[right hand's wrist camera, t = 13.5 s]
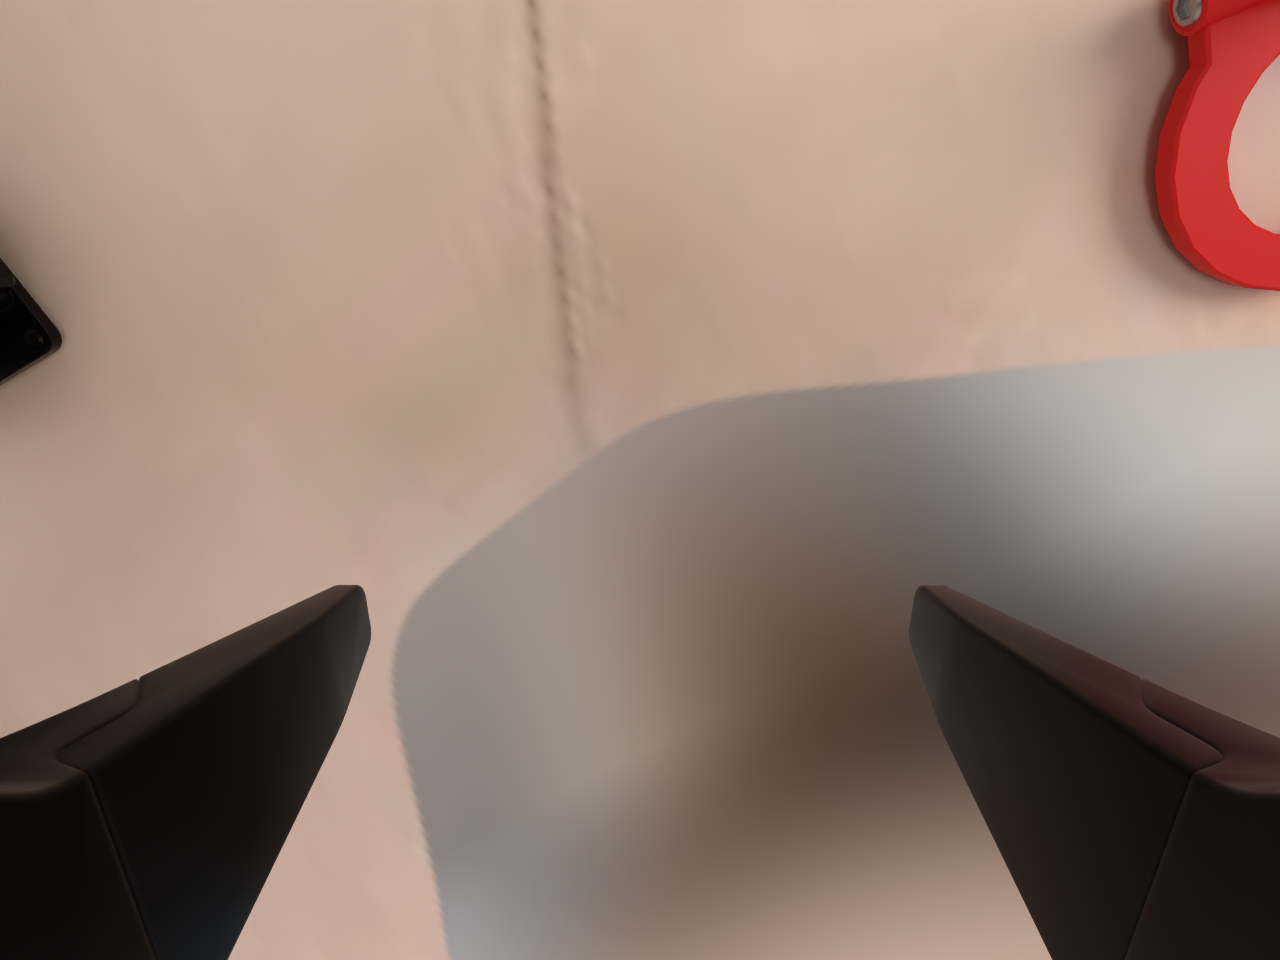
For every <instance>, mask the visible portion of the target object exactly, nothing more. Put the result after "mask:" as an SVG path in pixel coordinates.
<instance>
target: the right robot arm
mask: <svg viewBox="0 0 1280 960" xmlns="http://www.w3.org/2000/svg"><path fill="white" fill-rule="evenodd" d="M36 332H38V333H40V334H41V336H42V338H43V343H41V342H40V341H39V340H38V338H37V336H36ZM61 343H62V339H61V334H60V333H59V331H58V329H57V328H56V327H55V325H54V324H53V323H52V322H51V320H50V319H49V318H48V317H47V315H46V314H45V313H44V312H43V310H42V309H41V308H40V307H39V305H38V304H37V303H36V302H35V301H34V299H33V298H32V297H31V296H30V294H29V293H28V292H27V291H26V289H25V288H24V287H23V286H22V284H21V283H20V282H19V281H18V279H17V278H16V277H15V276H14V274H13V273H12V272H11V271H10V269H9V268H8V267H7V266H6V264H5V263H4V262H3V261H2V260H1V258H0V385H1V384H3V383H4V382H6V381H8V380H9V379H11V378H13V377H14V376H16V375H18V374H19V373H21V372H23V371H24V370H26V369H27V368H29V367H31V366H32V365H34V364H36V363H37V362H39V361H41V360H42V359H44V358H46V357H47V356H49V355H51V354H52V353H54V352H56V351H57V350H58V349H59V348H60V347H61ZM370 640H371V626H370V620H369V614H368V608H367V602H366V596H365V592H364V590H363V588H362V587H361V586H358V585H336V586H333V587H331V588H329V589H327V590H325V591H322V592H320V593H318V594H316V595H314V596H312V597H310V598H308V599H305V600H303V601H301V602H299V603H297V604H295V605H293V606H290V607H288V608H286V609H284V610H282V611H280V612H278V613H276V614H273V615H271V616H269V617H267V618H265V619H263V620H261V621H258V622H256V623H254V624H252V625H250V626H248V627H246V628H244V629H241V630H239V631H237V632H235V633H233V634H231V635H229V636H226V637H224V638H222V639H220V640H218V641H216V642H214V643H212V644H209V645H207V646H205V647H203V648H201V649H199V650H197V651H194V652H192V653H190V654H188V655H186V656H184V657H182V658H180V659H177V660H175V661H173V662H171V663H169V664H167V665H165V666H162V667H160V668H158V669H156V670H154V671H152V672H150V673H148V674H145V675H143V676H141V677H140V679H139V681H138V680H136V679H135V680H132V681H130V682H128V683H126V684H124V685H122V686H120V687H117V688H115V689H113V690H111V691H109V692H107V693H104V694H102V695H100V696H98V697H96V698H93V699H91V700H89V701H87V702H84V703H82V704H80V705H78V706H76V707H73V708H71V709H69V710H66V711H64V712H62V713H59V714H57V715H55V716H52V717H50V718H48V719H45V720H43V721H41V722H38V723H36V724H33V725H31V726H29V727H26V728H24V729H22V730H19V731H17V732H14V733H12V734H9V735H7V736H5V737H2V738H0V960H228V958H229V956H230V954H231V952H232V950H233V947H234V945H235V943H236V941H237V939H238V937H239V935H240V933H241V931H242V929H243V927H244V925H245V923H246V921H247V919H248V917H249V914H250V912H251V910H252V908H253V906H254V904H255V902H256V900H257V898H258V896H259V894H260V892H261V890H262V888H263V886H264V884H265V881H266V879H267V877H268V875H269V873H270V871H271V869H272V867H273V865H274V863H275V861H276V859H277V857H278V855H279V853H280V851H281V848H282V846H283V844H284V842H285V840H286V838H287V836H288V834H289V832H290V830H291V828H292V826H293V824H294V822H295V820H296V818H297V815H298V813H299V811H300V809H301V807H302V805H303V803H304V801H305V799H306V797H307V795H308V793H309V791H310V789H311V787H312V785H313V782H314V780H315V778H316V776H317V774H318V772H319V770H320V768H321V766H322V764H323V762H324V760H325V758H326V756H327V754H328V751H329V749H330V747H331V745H332V743H333V741H334V739H335V737H336V735H337V733H338V731H339V728H340V726H341V724H342V722H343V719H344V716H345V714H346V711H347V708H348V705H349V703H350V700H351V697H352V694H353V691H354V688H355V685H356V682H357V679H358V676H359V674H360V671H361V668H362V665H363V662H364V659H365V656H366V653H367V650H368V647H369V644H370ZM909 640H910V644H911V647H912V650H913V653H914V656H915V659H916V662H917V665H918V668H919V671H920V674H921V676H922V679H923V682H924V685H925V688H926V691H927V694H928V697H929V700H930V703H931V705H932V708H933V711H934V714H935V716H936V719H937V722H938V724H939V726H940V728H941V730H942V733H943V735H944V737H945V739H946V741H947V743H948V745H949V747H950V749H951V751H952V754H953V756H954V758H955V760H956V762H957V764H958V766H959V768H960V770H961V772H962V774H963V776H964V778H965V780H966V782H967V784H968V787H969V789H970V791H971V793H972V795H973V797H974V799H975V801H976V803H977V805H978V807H979V809H980V811H981V813H982V815H983V818H984V820H985V822H986V824H987V826H988V828H989V830H990V832H991V834H992V836H993V838H994V840H995V842H996V844H997V846H998V848H999V850H1000V853H1001V855H1002V857H1003V859H1004V861H1005V863H1006V865H1007V867H1008V869H1009V871H1010V873H1011V875H1012V877H1013V879H1014V881H1015V884H1016V886H1017V888H1018V890H1019V892H1020V894H1021V896H1022V898H1023V900H1024V902H1025V904H1026V906H1027V908H1028V910H1029V912H1030V914H1031V917H1032V919H1033V921H1034V923H1035V925H1036V927H1037V929H1038V931H1039V933H1040V935H1041V937H1042V939H1043V941H1044V943H1045V945H1046V947H1047V950H1048V952H1049V954H1050V956H1051V958H1052V960H1280V738H1278V737H1275V736H1273V735H1271V734H1268V733H1266V732H1263V731H1261V730H1258V729H1256V728H1254V727H1251V726H1249V725H1246V724H1244V723H1242V722H1239V721H1237V720H1235V719H1232V718H1230V717H1228V716H1225V715H1223V714H1221V713H1218V712H1216V711H1214V710H1211V709H1209V708H1206V707H1204V706H1202V705H1200V704H1198V703H1196V702H1193V701H1191V700H1189V699H1187V698H1184V697H1182V696H1180V695H1178V694H1176V693H1173V692H1171V691H1169V690H1167V689H1165V688H1163V687H1160V686H1158V685H1156V684H1154V683H1152V682H1150V681H1148V680H1145V679H1144V680H1142V681H1141V679H1140V677H1139V676H1137V675H1135V674H1132V673H1130V672H1128V671H1126V670H1124V669H1122V668H1120V667H1118V666H1115V665H1113V664H1111V663H1109V662H1107V661H1105V660H1103V659H1100V658H1098V657H1096V656H1094V655H1092V654H1090V653H1088V652H1086V651H1083V650H1081V649H1079V648H1077V647H1075V646H1073V645H1071V644H1068V643H1066V642H1064V641H1062V640H1060V639H1058V638H1056V637H1054V636H1051V635H1049V634H1047V633H1045V632H1043V631H1041V630H1039V629H1036V628H1034V627H1032V626H1030V625H1028V624H1026V623H1024V622H1021V621H1019V620H1017V619H1015V618H1013V617H1011V616H1009V615H1007V614H1004V613H1002V612H1000V611H998V610H996V609H994V608H992V607H990V606H987V605H985V604H983V603H981V602H979V601H977V600H975V599H972V598H970V597H968V596H966V595H964V594H962V593H960V592H958V591H955V590H953V589H951V588H949V587H947V586H944V585H922V586H919V587H918V588H917V590H916V592H915V596H914V602H913V608H912V614H911V620H910V626H909Z"/></svg>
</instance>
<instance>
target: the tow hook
mask: <svg viewBox="0 0 1280 960" xmlns="http://www.w3.org/2000/svg"><path fill="white" fill-rule="evenodd" d="M1169 16H1170V21H1171V23H1172V26H1173V27H1174V29H1175V31H1177V32H1178V33H1179V34H1180V35H1183V36H1188V48H1189V63H1190V67H1189V69H1188V71H1187V72H1186V74H1185V76H1184V77H1183V79H1182V81H1181V82H1180V84H1179V86H1178V87H1177V89H1176V92H1175V94H1174V97H1173V100H1172V103H1171V106H1170V108H1169V111H1168V114H1167V117H1166V120H1165V122H1164V125H1163V128H1162V131H1161V134H1160V139H1159V147H1158V155H1157V163H1156V171H1155V184H1156V191H1157V199H1158V206H1159V213H1160V218H1161V220H1162V222H1163V224H1164V226H1165V228H1166V230H1167V232H1168V234H1169V236H1170V238H1171V240H1172V242H1173V245H1174V247H1175V248H1176V249H1177V250H1178V251H1179V252H1180V253H1181V254H1182V255H1183V256H1184V257H1185V258H1186V259H1187V260H1188V261H1189V262H1190V263H1191V264H1192V265H1193V266H1194V267H1195V268H1196V269H1197V270H1198V271H1201V272H1203V273H1205V274H1207V275H1209V276H1212V277H1214V278H1216V279H1218V280H1221V281H1223V282H1225V283H1227V284H1231V285H1236V286H1241V287H1246V288H1256V289H1265V290H1275V291H1280V235H1277V234H1273V233H1271V232H1269V231H1267V230H1265V229H1263V228H1260V227H1258V226H1256V225H1254V224H1253V223H1252V222H1251V220H1250V219H1249V218H1248V217H1247V216H1246V215H1245V214H1244V213H1243V212H1242V211H1241V210H1240V209H1239V207H1238V205H1237V203H1236V200H1235V198H1234V196H1233V193H1232V191H1231V189H1230V184H1229V174H1228V164H1227V160H1228V153H1229V147H1230V141H1231V135H1232V131H1233V128H1234V126H1235V123H1236V120H1237V118H1238V115H1239V113H1240V110H1241V108H1242V105H1243V103H1244V101H1245V99H1246V98H1247V96H1248V95H1249V93H1250V91H1251V90H1252V88H1253V87H1254V85H1255V84H1256V82H1257V80H1258V79H1259V77H1260V76H1261V74H1262V73H1263V72H1264V70H1265V69H1266V68H1267V67H1268V66H1269V65H1270V64H1271V63H1272V62H1273V61H1274V60H1275V59H1276V58H1277V57H1278V55H1279V54H1280V0H1169Z"/></svg>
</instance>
